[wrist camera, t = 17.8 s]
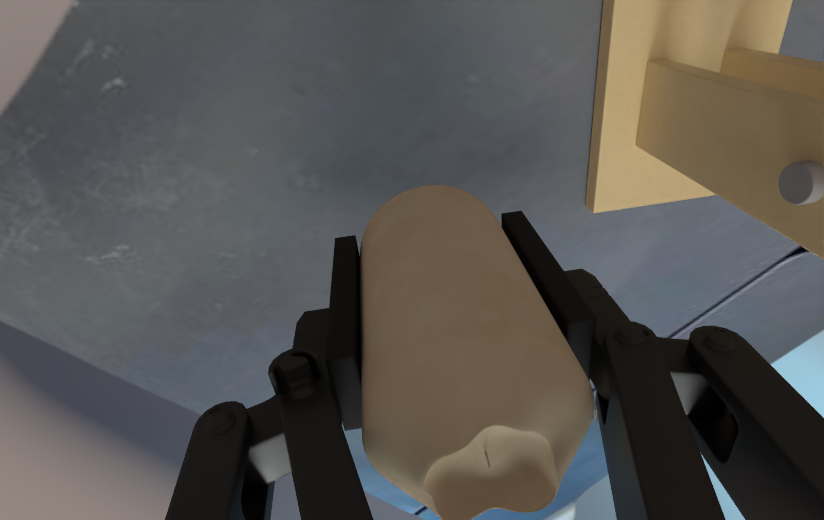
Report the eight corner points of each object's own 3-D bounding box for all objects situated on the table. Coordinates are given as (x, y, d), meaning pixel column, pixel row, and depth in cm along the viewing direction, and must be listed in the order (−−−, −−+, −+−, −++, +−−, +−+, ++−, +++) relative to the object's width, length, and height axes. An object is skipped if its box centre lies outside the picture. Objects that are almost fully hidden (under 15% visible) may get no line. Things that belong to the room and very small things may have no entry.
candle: (528, 230, 18) (678, 452, 10) (443, 325, 20) (505, 577, 12) (415, 153, 16) (479, 351, 8) (332, 267, 18) (311, 523, 10)
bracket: (604, -22, 23) (875, -21, 11) (786, -46, 23) (1245, -71, 11) (584, 205, 29) (742, 362, 17) (727, 184, 29) (980, 324, 17)
